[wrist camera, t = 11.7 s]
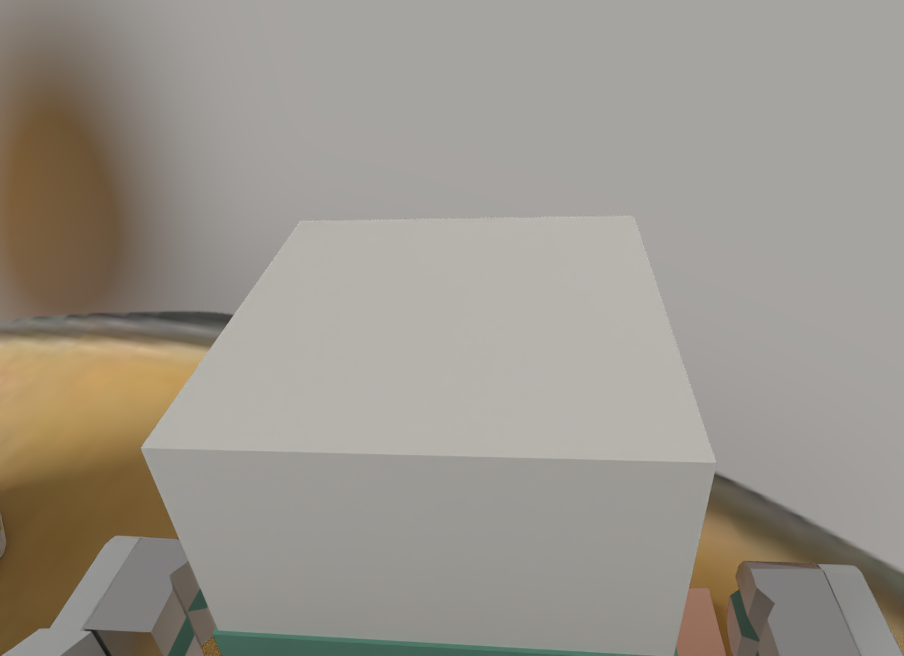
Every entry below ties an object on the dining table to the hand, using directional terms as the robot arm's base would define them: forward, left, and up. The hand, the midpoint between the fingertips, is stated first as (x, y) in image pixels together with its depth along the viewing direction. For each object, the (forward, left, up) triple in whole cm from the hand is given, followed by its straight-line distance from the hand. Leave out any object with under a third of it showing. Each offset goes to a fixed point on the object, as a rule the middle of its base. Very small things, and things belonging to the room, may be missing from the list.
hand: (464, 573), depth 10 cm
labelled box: (0, 0, -9) cm, 9 cm away
